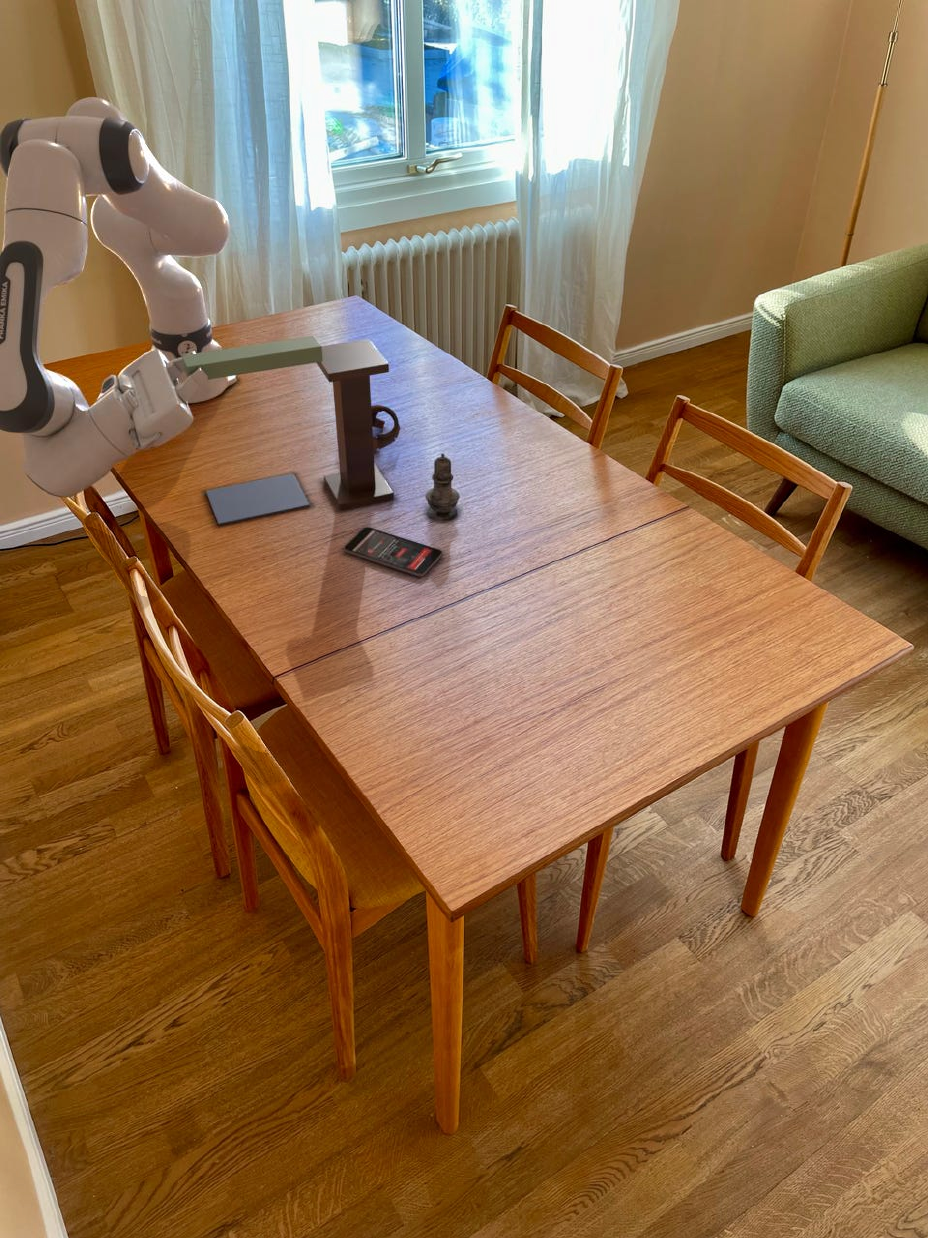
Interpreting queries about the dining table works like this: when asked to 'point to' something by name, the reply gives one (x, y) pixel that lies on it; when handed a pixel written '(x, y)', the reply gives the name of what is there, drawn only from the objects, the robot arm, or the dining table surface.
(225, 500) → the blue-grey flat rectangular plate
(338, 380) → the stand
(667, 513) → the dining table surface
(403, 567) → the smartphone
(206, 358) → the bar
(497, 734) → the dining table surface
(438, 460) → the salt shaker
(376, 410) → the pottery mug
